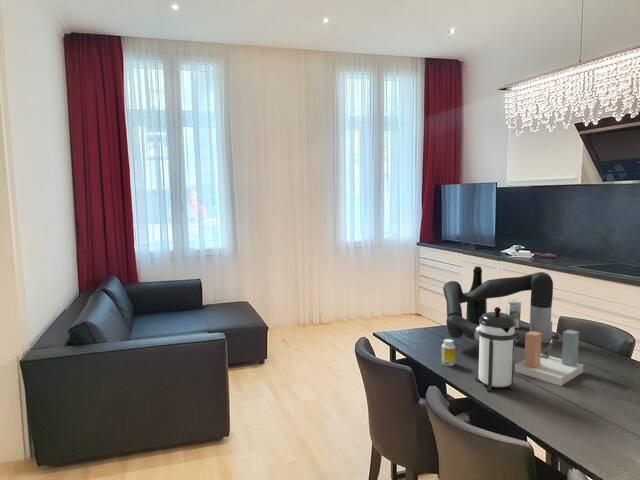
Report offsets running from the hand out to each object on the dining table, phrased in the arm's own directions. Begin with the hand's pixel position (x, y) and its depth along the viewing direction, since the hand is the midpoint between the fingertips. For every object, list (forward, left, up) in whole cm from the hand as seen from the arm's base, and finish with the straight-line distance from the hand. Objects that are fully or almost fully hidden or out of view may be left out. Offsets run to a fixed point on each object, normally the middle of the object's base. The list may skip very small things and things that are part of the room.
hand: (527, 346), depth 182 cm
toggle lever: (-13, -3, -7) cm, 15 cm away
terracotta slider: (-1, +2, -7) cm, 7 cm away
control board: (-8, +5, -10) cm, 14 cm away
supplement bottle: (+23, -20, -11) cm, 32 cm away
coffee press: (+21, +3, -11) cm, 24 cm away
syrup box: (-43, -47, -11) cm, 64 cm away
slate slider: (-15, +7, -7) cm, 18 cm away
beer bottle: (-25, -55, -11) cm, 61 cm away
